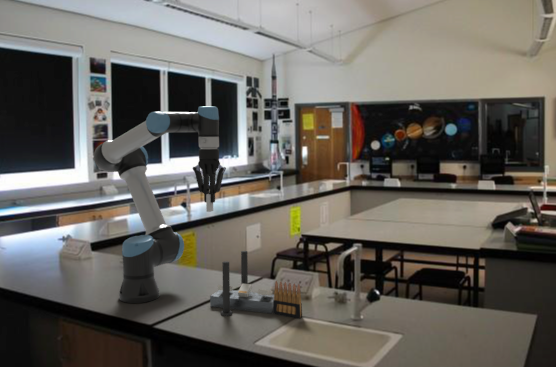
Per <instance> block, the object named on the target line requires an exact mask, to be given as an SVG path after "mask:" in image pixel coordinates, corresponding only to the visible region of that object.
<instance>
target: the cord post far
mask: <svg viewBox="0 0 556 367" xmlns="http://www.w3.org/2000/svg"><path fill="white" fill-rule="evenodd" d="M248 262H249V261H248V251H247V250H241V251H240V264H241V265H240V271H241V272H240V273H241V274H240V275H241V276H240V277H241V278H240V279H241V280H240V281H241V283H240V284H241V285H242V283H243V284H249V282H248V281H249V280H248V279H249V277H248V272H249V270H248V269H249V268H248V266H249V264H248ZM241 285H240V286H241Z"/></svg>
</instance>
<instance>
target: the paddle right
mask: <svg viewBox="0 0 556 367" xmlns="http://www.w3.org/2000/svg"><path fill="white" fill-rule="evenodd" d="M257 293H258V294H260V295H271V296H272V294H273V290H270V289H262V288H258V292H257Z"/></svg>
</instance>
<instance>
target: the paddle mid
mask: <svg viewBox="0 0 556 367" xmlns="http://www.w3.org/2000/svg"><path fill="white" fill-rule="evenodd" d="M252 289H253V286H252V283H248V284H243V283H242V285H240V287H239V289H238V290H237V291H238V296H241V297H248V295H249V293H250V292H252Z"/></svg>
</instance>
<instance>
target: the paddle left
mask: <svg viewBox="0 0 556 367" xmlns="http://www.w3.org/2000/svg"><path fill="white" fill-rule="evenodd" d="M218 290H222V291H223V284H218V285H217V291H218ZM232 290H233V286H232V285H230V291H232Z"/></svg>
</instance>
